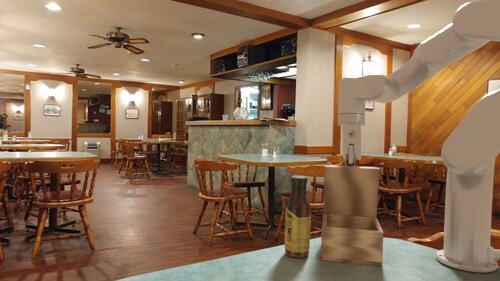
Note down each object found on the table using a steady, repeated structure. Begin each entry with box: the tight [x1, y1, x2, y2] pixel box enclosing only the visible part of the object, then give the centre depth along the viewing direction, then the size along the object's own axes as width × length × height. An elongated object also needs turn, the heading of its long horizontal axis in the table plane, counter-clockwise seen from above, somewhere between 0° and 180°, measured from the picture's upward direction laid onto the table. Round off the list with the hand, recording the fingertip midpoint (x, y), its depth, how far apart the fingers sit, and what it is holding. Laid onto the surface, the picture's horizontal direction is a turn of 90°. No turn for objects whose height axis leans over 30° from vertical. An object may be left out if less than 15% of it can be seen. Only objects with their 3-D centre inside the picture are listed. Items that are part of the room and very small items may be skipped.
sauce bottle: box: [284, 175, 312, 259], centre depth 89 cm, size 6×6×20 cm
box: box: [320, 213, 384, 267], centre depth 91 cm, size 14×14×8 cm
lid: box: [323, 164, 381, 218], centre depth 96 cm, size 14×14×1 cm
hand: (349, 183), depth 103 cm, fingers closed
